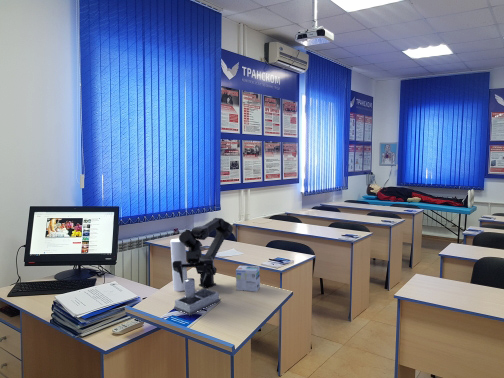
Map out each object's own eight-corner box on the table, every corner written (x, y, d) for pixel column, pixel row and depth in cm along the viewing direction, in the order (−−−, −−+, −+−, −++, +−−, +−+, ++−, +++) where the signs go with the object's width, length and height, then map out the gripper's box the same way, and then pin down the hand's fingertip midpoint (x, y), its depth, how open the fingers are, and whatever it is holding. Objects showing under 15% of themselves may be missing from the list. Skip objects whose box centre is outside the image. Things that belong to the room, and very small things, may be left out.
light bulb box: (260, 286, 187) (259, 266, 186) (257, 292, 181) (256, 270, 180) (240, 285, 190) (239, 264, 189) (236, 290, 184) (235, 269, 182)
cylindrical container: (189, 285, 192) (186, 238, 189) (185, 291, 185) (182, 242, 182) (175, 285, 192) (172, 238, 189) (171, 291, 185) (168, 242, 182)
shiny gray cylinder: (194, 303, 168) (192, 277, 167) (197, 306, 164) (195, 280, 163) (184, 305, 166) (183, 279, 165) (187, 308, 162) (185, 282, 161)
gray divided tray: (204, 295, 179) (203, 287, 178) (220, 301, 171) (220, 292, 171) (174, 309, 165) (173, 300, 164) (190, 315, 158) (189, 306, 157)
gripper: (171, 244, 172) (168, 276, 163) (212, 242, 172) (211, 274, 163) (175, 255, 181) (173, 286, 172) (214, 253, 181) (213, 284, 172)
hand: (192, 282), depth 169 cm, fingers open, 9 cm apart
